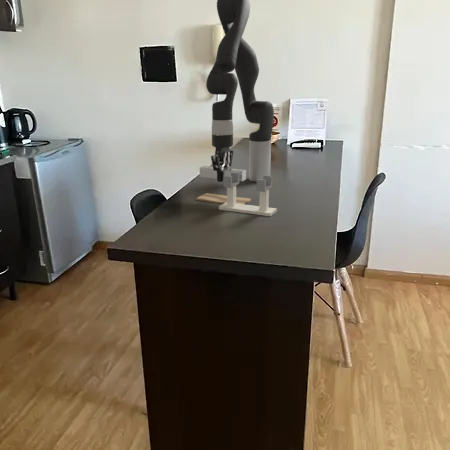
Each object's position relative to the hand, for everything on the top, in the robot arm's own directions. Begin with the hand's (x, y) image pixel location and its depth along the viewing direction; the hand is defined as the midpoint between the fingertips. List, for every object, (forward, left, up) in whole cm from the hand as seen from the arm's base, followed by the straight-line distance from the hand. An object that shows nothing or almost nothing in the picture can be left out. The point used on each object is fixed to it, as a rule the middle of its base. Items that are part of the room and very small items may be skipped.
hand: (222, 180), depth 165 cm
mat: (0, 0, -8) cm, 8 cm away
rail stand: (+8, +13, -8) cm, 17 cm away
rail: (0, 0, +1) cm, 1 cm away
